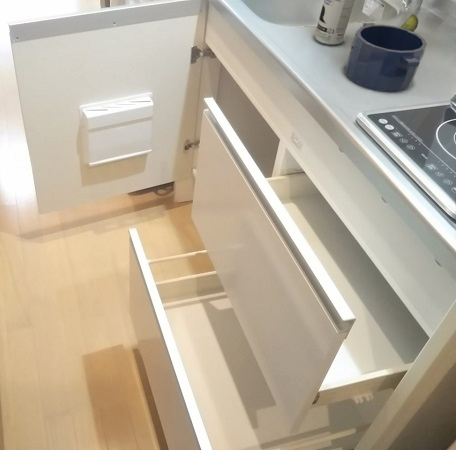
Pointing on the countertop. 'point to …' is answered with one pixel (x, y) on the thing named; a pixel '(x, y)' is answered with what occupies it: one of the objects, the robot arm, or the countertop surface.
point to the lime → (411, 23)
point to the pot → (384, 57)
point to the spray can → (333, 21)
